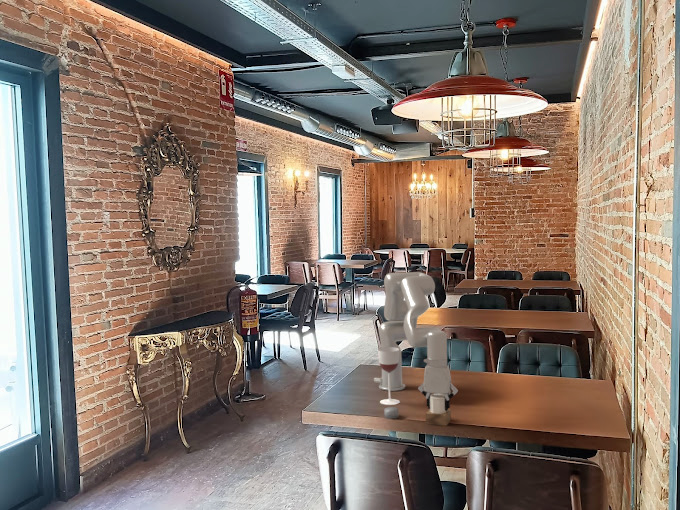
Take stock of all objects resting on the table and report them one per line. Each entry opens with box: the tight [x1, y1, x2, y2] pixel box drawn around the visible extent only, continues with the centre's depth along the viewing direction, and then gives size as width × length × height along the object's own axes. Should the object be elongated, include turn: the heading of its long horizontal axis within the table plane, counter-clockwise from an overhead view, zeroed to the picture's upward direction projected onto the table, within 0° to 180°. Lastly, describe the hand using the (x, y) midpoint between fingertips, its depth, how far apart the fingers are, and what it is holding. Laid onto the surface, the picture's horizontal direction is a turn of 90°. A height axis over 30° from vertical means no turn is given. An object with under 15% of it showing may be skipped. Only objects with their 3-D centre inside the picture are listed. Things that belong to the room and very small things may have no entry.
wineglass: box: [377, 347, 401, 406], centre depth 250 cm, size 9×10×23 cm
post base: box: [425, 408, 452, 426], centre depth 222 cm, size 8×8×8 cm
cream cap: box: [430, 393, 446, 414], centre depth 222 cm, size 6×6×6 cm
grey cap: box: [383, 406, 400, 420], centre depth 230 cm, size 6×6×3 cm
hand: (438, 408), depth 222 cm, fingers closed on cream cap, 6 cm apart
